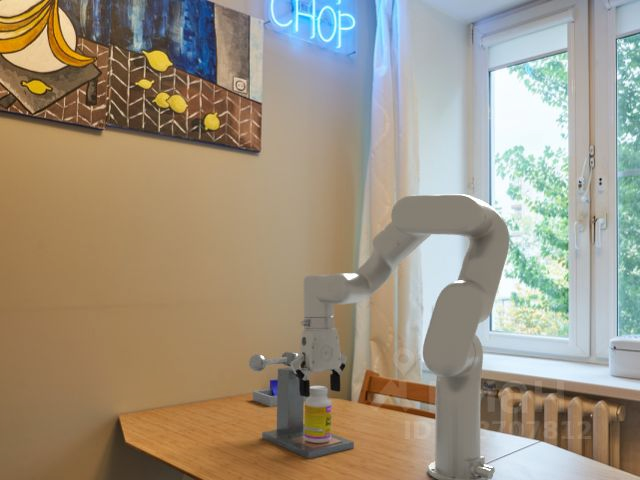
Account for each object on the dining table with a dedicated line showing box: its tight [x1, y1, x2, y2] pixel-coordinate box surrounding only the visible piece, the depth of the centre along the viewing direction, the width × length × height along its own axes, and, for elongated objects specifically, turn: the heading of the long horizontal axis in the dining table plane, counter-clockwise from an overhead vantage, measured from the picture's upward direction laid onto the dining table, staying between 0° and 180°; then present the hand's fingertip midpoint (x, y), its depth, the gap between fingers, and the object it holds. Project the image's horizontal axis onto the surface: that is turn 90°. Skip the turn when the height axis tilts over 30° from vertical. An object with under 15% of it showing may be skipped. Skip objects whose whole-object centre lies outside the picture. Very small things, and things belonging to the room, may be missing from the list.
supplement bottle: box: [304, 385, 332, 443], centre depth 141 cm, size 7×7×13 cm
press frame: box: [261, 366, 355, 459], centre depth 144 cm, size 20×14×18 cm
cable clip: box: [269, 378, 278, 396], centre depth 191 cm, size 12×4×6 cm, turn 25°
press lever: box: [248, 351, 300, 373], centre depth 150 cm, size 4×24×4 cm, turn 128°
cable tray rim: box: [252, 388, 310, 408], centre depth 191 cm, size 11×17×3 cm, turn 128°
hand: (320, 393), depth 141 cm, fingers open, 9 cm apart
